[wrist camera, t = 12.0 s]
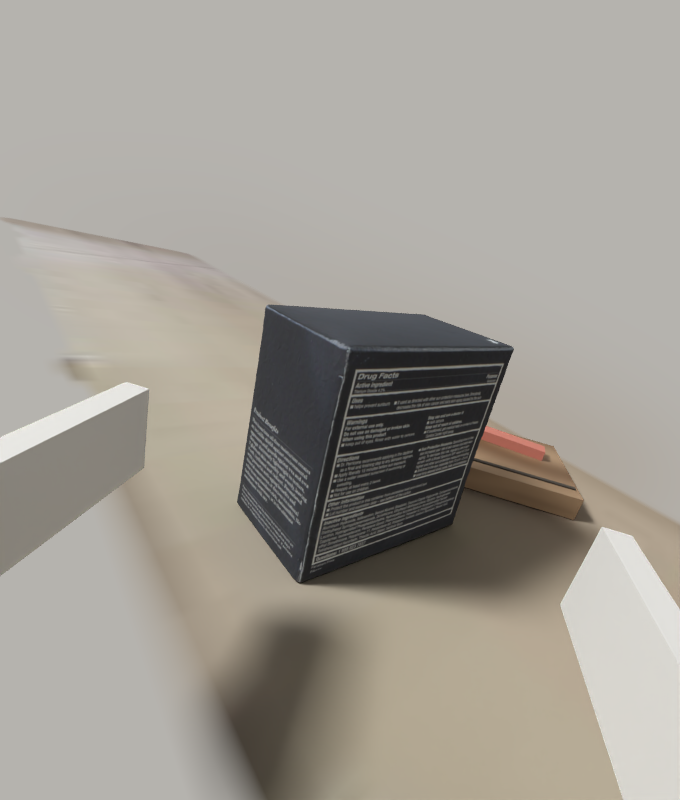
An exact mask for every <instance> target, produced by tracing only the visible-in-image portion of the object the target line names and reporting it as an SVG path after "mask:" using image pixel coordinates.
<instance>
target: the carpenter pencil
mask: <svg viewBox="0 0 680 800" xmlns="http://www.w3.org/2000/svg"><path fill="white" fill-rule="evenodd" d="M481 439H482V440H484V441H487V442H490V443H493V444H496V445H498V446H501V447H504V448H507V449H510V450H512V451H515V452H518V453H521V454H523V455H526V456H529V457H532V458H535V459H537V460H540V461H542V459H543V457H544V454H545V446H542V445H539V444H536V443H534V442H531V441H528V440H525V439H522V438H519V437H516V436H514V435H511V434H508V433H505V432H502V431H499V430H496V429H493V428H491V427H488V426H486V427H485V430H484V433H483V436H482V438H481Z"/></svg>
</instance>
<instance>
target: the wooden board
mask: <svg viewBox="0 0 680 800" xmlns="http://www.w3.org/2000/svg"><path fill="white" fill-rule="evenodd" d="M511 435H512V434H511ZM514 436H515V435H514ZM516 437H519V436H516ZM519 438H522V437H519ZM522 439H525V440H528V441H531V442H534V443H536V444H539V445H542V446H545V454H544V457H543V459H542V461H540V460H537V459H535V458H532V457H529V456H526V455H523V454H521V453H518V452H515V451H512V450H510V449H507V448H504V447H501V446H498V445H496V444H493V443H490V442H487V441H484V440H482V439H481V440H480V443H479V446H478V449H477V451H476V455H475V457H474V460H473V463H472V465H471V469H470V472H469V474H468V476H467V480H466V483H465V486H464V487H466V488H469V489H472V490H476V491H479V492H482V493H486V494H489V495H492V496H496V497H499V498H502V499H506V500H509V501H512V502H516V503H519V504H522V505H526V506H529V507H532V508H536V509H539V510H542V511H546V512H549V513H552V514H556V515H559V516H562V517H566V518H569V519H572V520H574V519H575V517H576V515H577V513H578V511H579V509H580V507H581V505H582V503H583V501H584V500H583V498H582V497H581V495H580V493H579V491H578V489H577V488H576V486H575V484H574V482H573V480H572V479H571V477H570V475H569V473H568V471H567V470H566V468H565V466H564V464H563V462H562V461H561V459H560V457H559V455H558V453H557V452H556V450H555V448H554V446H550V445H547V444H543V443H540V442H536V441H533V440H529V439H526V438H522Z"/></svg>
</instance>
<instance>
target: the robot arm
mask: <svg viewBox="0 0 680 800" xmlns="http://www.w3.org/2000/svg"><path fill="white" fill-rule="evenodd" d="M148 399H149V389H148V388H145V387H141V386H138V385H135V384H131V383H128V382H125V383H122V384H120V385H118V386H116V387H113V388H111V389H109V390H106V391H104V392H102V393H100V394H97V395H95V396H93V397H91V398H88V399H86V400H84V401H81V402H79V403H77V404H75V405H72V406H70V407H68V408H66V409H63V410H61V411H59V412H56V413H54V414H52V415H50V416H47V417H45V418H43V419H41V420H38V421H36V422H34V423H31V424H29V425H27V426H25V427H23V428H20V429H18V430H16V431H13V432H11V433H9V434H7V435H5V436H2V437H0V576H1V575H2V574H3V573H5V572H6V571H7V570H9V569H10V568H11V567H13V566H14V565H15V564H17V563H18V562H19V561H21V560H22V559H23V558H25V557H26V556H27V555H29V554H30V553H31V552H33V551H34V550H35V549H37V548H38V547H39V546H41V545H42V544H43V543H44V542H46V541H47V540H48V539H50V538H51V537H53V536H54V535H55V534H56V533H58V532H59V531H61V530H62V529H63V528H65V527H66V526H67V525H68V524H70V523H71V522H73V521H74V520H75V519H77V518H78V517H79V516H81V515H82V514H83V513H85V512H86V511H87V510H88V509H90V508H91V507H93V506H94V505H95V504H97V503H98V502H99V501H100V500H102V499H103V498H104V497H106V496H107V495H108V494H110V493H111V492H112V491H114V490H115V489H116V488H118V487H119V486H120V485H122V484H123V483H124V482H126V481H127V480H128V479H130V478H131V477H132V476H134V475H135V474H136V473H138V472H139V471H140V470H142V469H143V468H144V459H145V444H146V429H147V414H148ZM560 606H561V609H562V612H563V615H564V618H565V621H566V624H567V627H568V630H569V633H570V637H571V640H572V643H573V646H574V649H575V652H576V655H577V658H578V661H579V664H580V667H581V671H582V674H583V677H584V680H585V683H586V686H587V689H588V692H589V695H590V698H591V702H592V705H593V708H594V711H595V714H596V717H597V720H598V723H599V726H600V729H601V732H602V736H603V739H604V742H605V745H606V748H607V751H608V754H609V757H610V760H611V763H612V767H613V770H614V773H615V776H616V779H617V782H618V785H619V788H620V791H621V794H622V797H623V800H680V609H679V608H678V606H677V605H676V603H675V602H674V600H673V598H672V597H671V595H670V594H669V592H668V591H667V589H666V588H665V586H664V584H663V583H662V581H661V580H660V578H659V577H658V575H657V574H656V572H655V570H654V569H653V567H652V566H651V564H650V563H649V561H648V560H647V558H646V557H645V555H644V553H643V552H642V550H641V549H640V547H639V546H638V544H637V543H636V541H635V539H634V538H633V536H631V535H628V534H624V533H621V532H618V531H615V530H611V529H608V528H605V527H601V529H600V531H599V533H598V535H597V537H596V539H595V540H594V542H593V544H592V546H591V548H590V550H589V552H588V554H587V555H586V557H585V559H584V561H583V563H582V565H581V567H580V568H579V570H578V572H577V574H576V576H575V578H574V580H573V582H572V583H571V585H570V587H569V589H568V591H567V593H566V595H565V596H564V598H563V600H562V602H561V604H560Z"/></svg>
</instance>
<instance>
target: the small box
mask: <svg viewBox="0 0 680 800" xmlns="http://www.w3.org/2000/svg"><path fill="white" fill-rule="evenodd" d="M513 350H514V349H513V347H512V346H509V345H507V344H504V343H501V342H498V341H495V340H493V339H490V338H487V337H484V336H482V335H479V334H476V333H473V332H471V331H468V330H465V329H462V328H459V327H456V326H454V325H451V324H448V323H445V322H443V321H440V320H437V319H434V318H431V317H429V316H426V315H421V314H402V313H389V312H375V311H359V310H344V309H343V310H342V309H328V308H314V307H299V306H283V305H267V306H266V309H265V318H264V325H263V334H262V341H261V347H260V354H259V362H258V368H257V374H256V382H255V389H254V395H253V402H252V409H251V416H250V423H249V429H248V436H247V443H246V449H245V456H244V462H243V469H242V476H241V483H240V490H239V494H238V500H237V503H238V504H239V506H240V507H241V509H242V510H243V511H244V513H245V514H246V516H247V517H248V518H249V520H250V521H251V522H252V524H253V525H254V526H255V528H256V529H257V530H258V532H259V533H260V535H261V536H262V537H263V539H264V540H265V541H266V543H267V544H268V545H269V547H270V548H271V549H272V551H273V552H274V553H275V555H276V556H277V557H278V558H279V560H280V561H281V563H282V564H283V565H284V567H285V568H286V569H287V571H288V572H289V573H290V575H291V576H292V577H293V578H294V579H295V580H296V581H297V582H304V581H306V580H309V579H312V578H314V577H317V576H320V575H322V574H326V573H328V572H330V571H333V570H335V569H338V568H340V567H343V566H346V565H348V564H351V563H353V562H356V561H359V560H361V559H363V558H366V557H369V556H371V555H374V554H377V553H379V552H382V551H384V550H387V549H389V548H392V547H395V546H397V545H400V544H402V543H405V542H408V541H410V540H413V539H415V538H418V537H420V536H423V535H426V534H428V533H431V532H433V531H436V530H438V529H441V528H443V527H446V526H448V525H451V524H452V523H453V520H454V517H455V513H456V510H457V507H458V504H459V501H460V499H461V494H462V492H463V489H464V486H465V483H466V480H467V476H468V474H469V472H470V469H471V465H472V463H473V460H474V457H475V455H476V451H477V449H478V446H479V443H480V440H481V438H482V436H483V433H484V430H485V427H486V425H487V422H488V419H489V416H490V413H491V411H492V407H493V405H494V403H495V399H496V396H497V394H498V391H499V388H500V385H501V383H502V380H503V377H504V375H505V372H506V369H507V366H508V363H509V360H510V358H511V355H512V352H513Z"/></svg>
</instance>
